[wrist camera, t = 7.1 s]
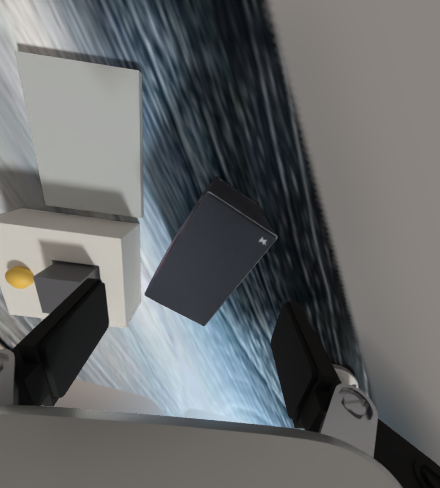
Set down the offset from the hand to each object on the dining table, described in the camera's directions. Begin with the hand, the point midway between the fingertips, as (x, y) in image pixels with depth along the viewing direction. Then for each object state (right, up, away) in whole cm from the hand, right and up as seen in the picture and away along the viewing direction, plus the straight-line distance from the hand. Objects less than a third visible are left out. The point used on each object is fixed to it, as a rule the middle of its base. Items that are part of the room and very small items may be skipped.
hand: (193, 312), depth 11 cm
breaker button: (-14, +1, +15) cm, 21 cm away
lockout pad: (-12, +14, +11) cm, 22 cm away
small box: (+1, +6, +15) cm, 16 cm away
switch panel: (-16, +2, +17) cm, 23 cm away
